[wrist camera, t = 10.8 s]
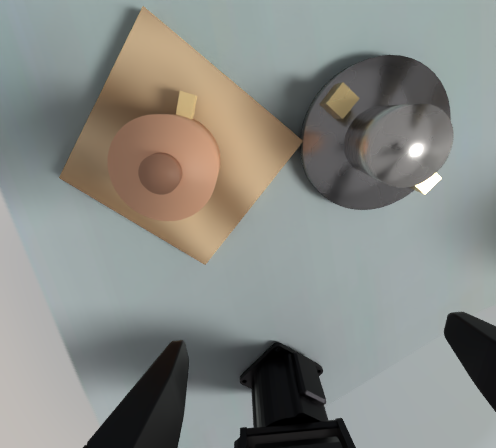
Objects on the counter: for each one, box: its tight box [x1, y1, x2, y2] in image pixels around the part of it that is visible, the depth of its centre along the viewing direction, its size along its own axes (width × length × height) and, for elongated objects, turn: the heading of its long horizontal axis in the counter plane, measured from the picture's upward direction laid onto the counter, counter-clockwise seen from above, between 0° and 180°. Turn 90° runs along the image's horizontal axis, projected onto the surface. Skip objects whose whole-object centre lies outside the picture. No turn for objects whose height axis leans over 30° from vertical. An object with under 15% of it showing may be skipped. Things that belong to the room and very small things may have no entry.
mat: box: [59, 6, 303, 265], centre depth 18 cm, size 12×12×1 cm
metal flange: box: [300, 55, 453, 210], centre depth 16 cm, size 10×10×5 cm
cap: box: [108, 91, 221, 222], centre depth 15 cm, size 6×8×5 cm
